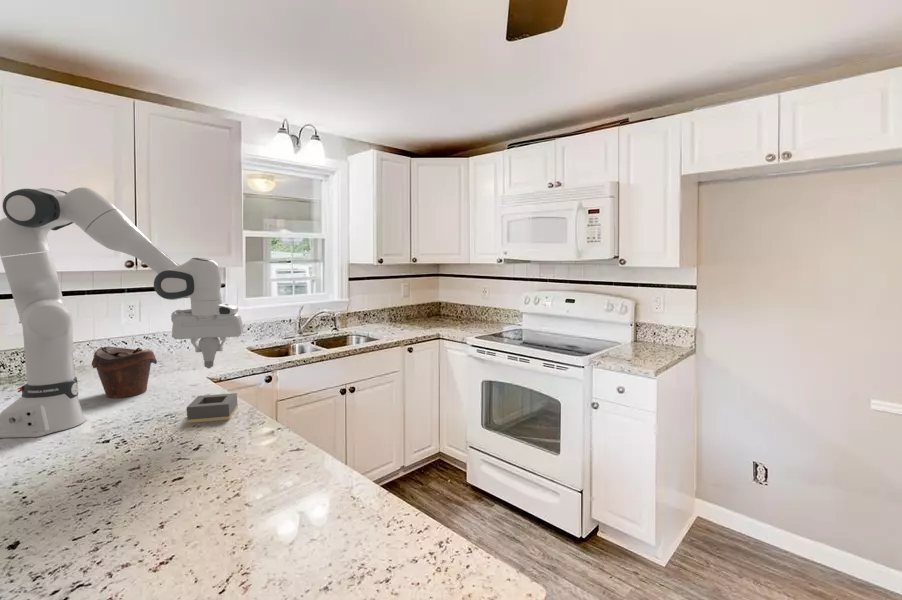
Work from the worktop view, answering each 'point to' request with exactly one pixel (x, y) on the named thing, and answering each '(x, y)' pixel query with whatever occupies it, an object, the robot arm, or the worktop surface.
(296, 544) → the worktop surface
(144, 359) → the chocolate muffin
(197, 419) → the socket block
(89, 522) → the worktop surface
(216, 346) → the lightbulb
